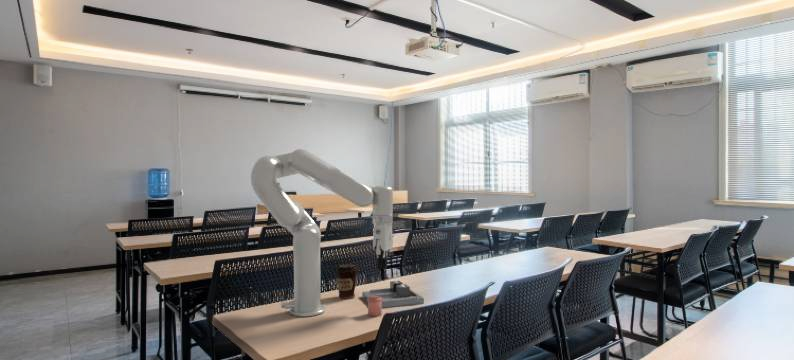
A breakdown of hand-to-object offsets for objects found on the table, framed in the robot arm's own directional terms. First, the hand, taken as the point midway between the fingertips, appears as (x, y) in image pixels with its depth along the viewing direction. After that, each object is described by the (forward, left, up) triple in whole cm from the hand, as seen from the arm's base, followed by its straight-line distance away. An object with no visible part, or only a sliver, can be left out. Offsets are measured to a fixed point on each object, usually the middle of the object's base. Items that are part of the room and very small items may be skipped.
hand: (382, 268), depth 167 cm
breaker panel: (+7, +9, -15) cm, 19 cm away
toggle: (+10, +5, -13) cm, 17 cm away
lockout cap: (-5, -6, -15) cm, 17 cm away
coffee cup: (-9, +19, -15) cm, 26 cm away
